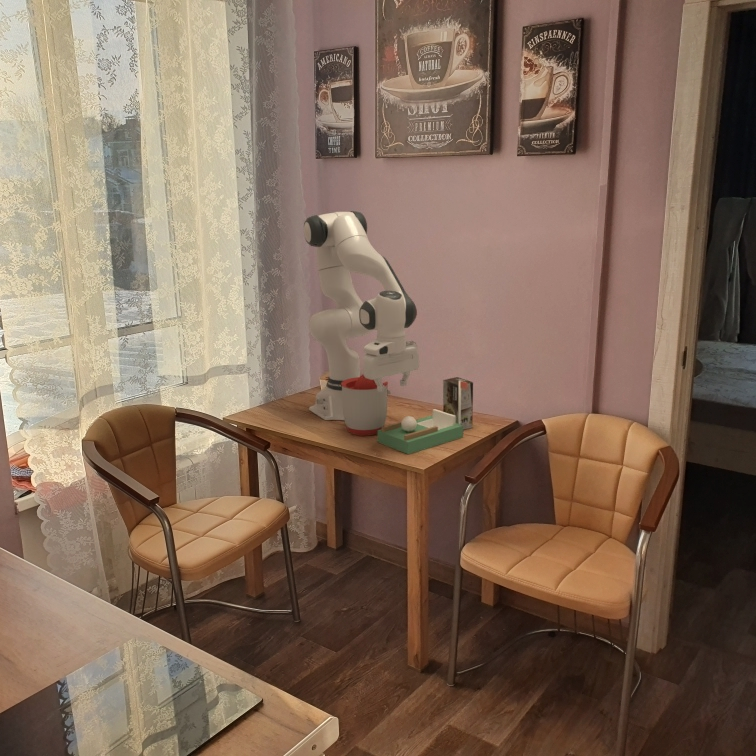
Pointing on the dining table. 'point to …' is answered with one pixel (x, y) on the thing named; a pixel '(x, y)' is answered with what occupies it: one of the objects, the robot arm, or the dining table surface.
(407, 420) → the ball
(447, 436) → the mini golf course
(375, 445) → the dining table surface
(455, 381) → the coffee box
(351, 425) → the citrus juicer
